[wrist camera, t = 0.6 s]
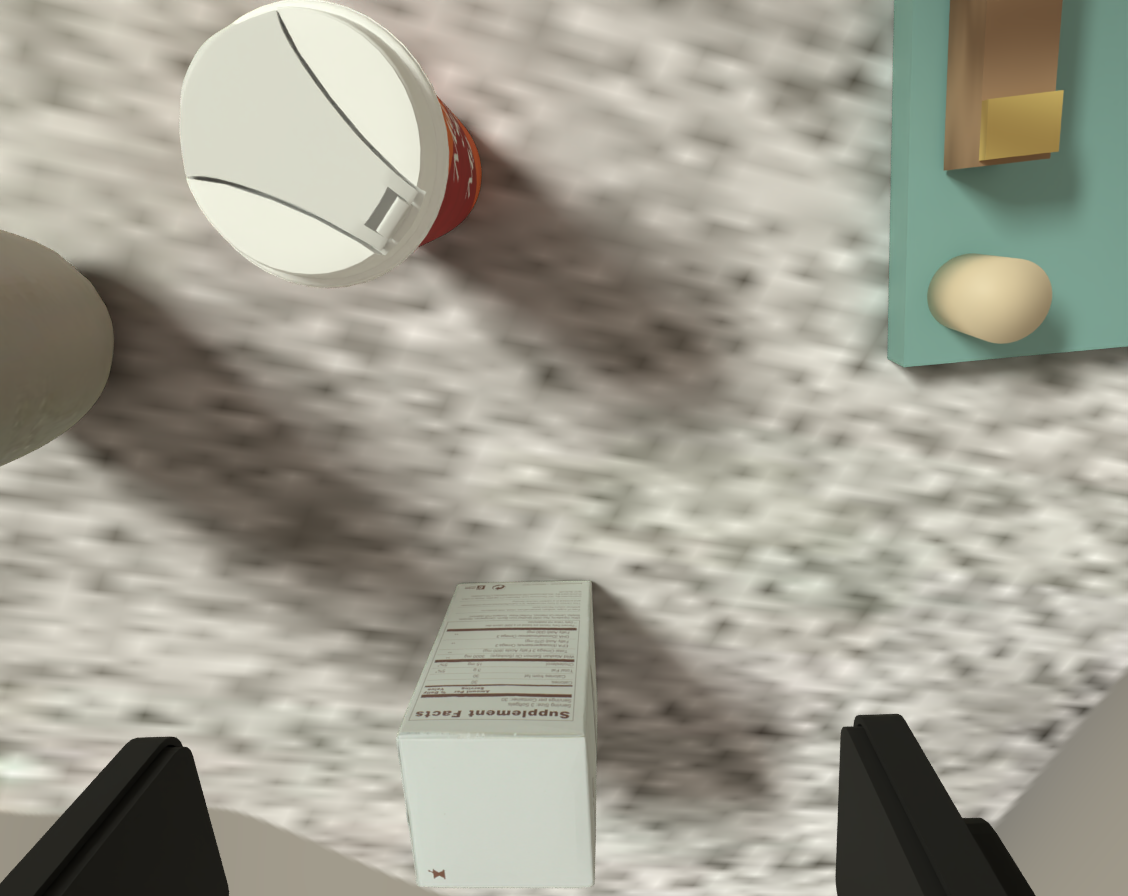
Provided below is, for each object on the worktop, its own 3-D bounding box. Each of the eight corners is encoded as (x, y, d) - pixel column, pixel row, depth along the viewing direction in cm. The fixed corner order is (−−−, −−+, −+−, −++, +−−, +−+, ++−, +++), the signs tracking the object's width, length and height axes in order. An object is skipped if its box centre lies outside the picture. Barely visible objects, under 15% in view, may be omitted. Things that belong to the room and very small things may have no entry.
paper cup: (540, 153, 33) (495, 114, 20) (444, 294, 35) (344, 346, 22) (392, 36, 32) (238, -89, 19) (301, 189, 34) (105, 176, 21)
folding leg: (955, -150, 27) (1012, -209, 23) (1028, -161, 27) (1097, -222, 23) (943, 170, 30) (991, 164, 26) (1008, 163, 30) (1066, 156, 26)
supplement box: (599, 696, 41) (597, 896, 29) (466, 697, 42) (410, 893, 30) (596, 575, 39) (591, 737, 27) (455, 577, 40) (389, 737, 28)
